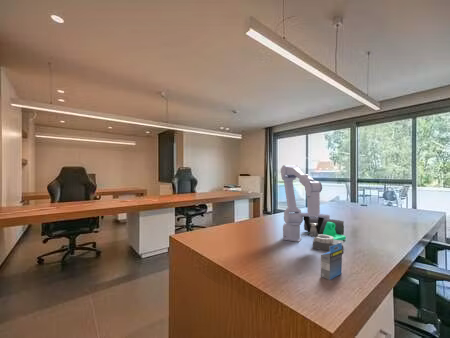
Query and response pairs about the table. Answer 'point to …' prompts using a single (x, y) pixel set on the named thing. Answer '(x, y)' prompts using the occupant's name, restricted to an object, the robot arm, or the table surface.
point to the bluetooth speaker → (338, 225)
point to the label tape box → (332, 262)
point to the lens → (313, 229)
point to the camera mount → (332, 231)
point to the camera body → (325, 242)
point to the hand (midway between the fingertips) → (313, 232)
